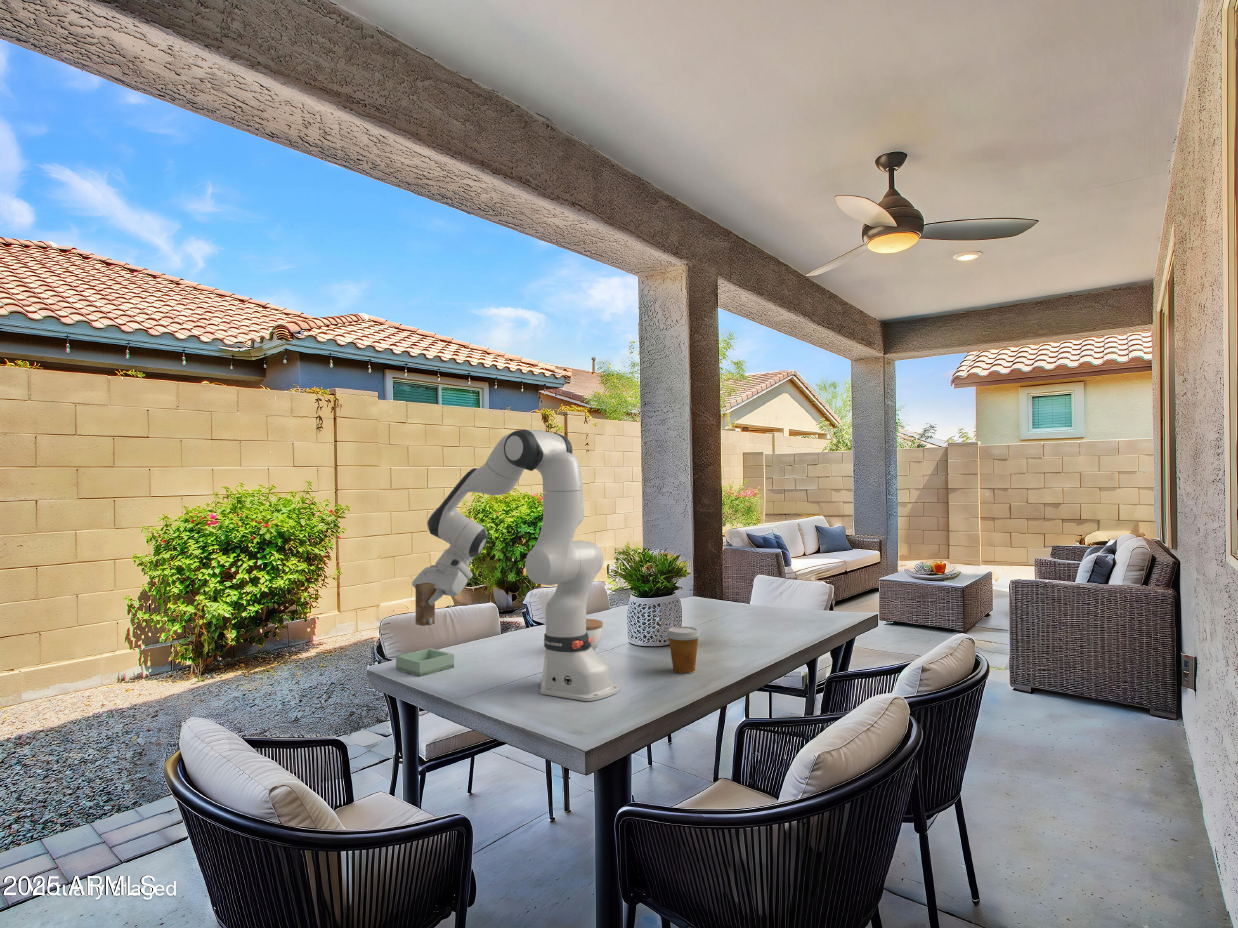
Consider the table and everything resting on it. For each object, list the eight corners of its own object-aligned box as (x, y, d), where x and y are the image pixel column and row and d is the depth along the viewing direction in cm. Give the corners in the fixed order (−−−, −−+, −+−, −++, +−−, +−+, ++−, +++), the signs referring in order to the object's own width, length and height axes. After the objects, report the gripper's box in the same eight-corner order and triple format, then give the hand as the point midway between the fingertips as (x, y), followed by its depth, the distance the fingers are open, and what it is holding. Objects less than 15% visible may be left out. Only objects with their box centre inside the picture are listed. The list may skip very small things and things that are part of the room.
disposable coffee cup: (702, 667, 194) (701, 626, 194) (697, 676, 184) (697, 633, 185) (671, 665, 196) (670, 625, 196) (664, 674, 187) (664, 632, 187)
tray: (453, 667, 197) (453, 653, 197) (419, 676, 187) (419, 662, 187) (430, 660, 204) (430, 648, 204) (396, 669, 195) (396, 656, 195)
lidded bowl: (586, 656, 207) (585, 621, 207) (557, 651, 215) (556, 617, 215) (610, 648, 217) (610, 615, 217) (581, 643, 225) (581, 611, 225)
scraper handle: (436, 623, 196) (436, 583, 196) (425, 626, 193) (425, 585, 193) (424, 621, 200) (424, 582, 200) (413, 623, 196) (413, 583, 197)
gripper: (424, 558, 209) (397, 593, 201) (464, 562, 196) (437, 599, 188) (435, 570, 212) (409, 605, 204) (476, 575, 199) (450, 613, 191)
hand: (423, 602), depth 196 cm, fingers closed on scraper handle, 4 cm apart
